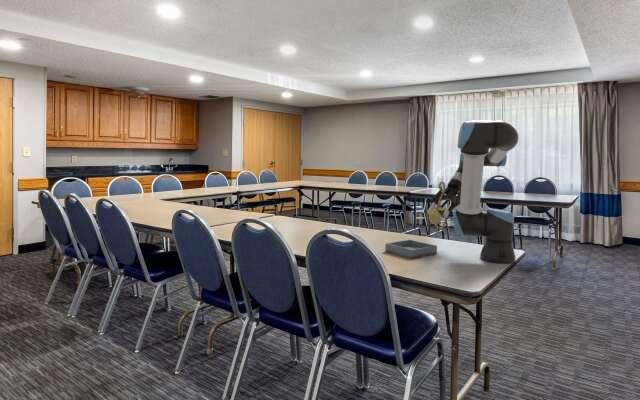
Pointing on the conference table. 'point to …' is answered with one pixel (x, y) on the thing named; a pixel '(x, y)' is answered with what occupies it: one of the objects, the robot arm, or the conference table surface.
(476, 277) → the conference table surface
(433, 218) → the wall sconce
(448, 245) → the conference table surface
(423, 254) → the tray
